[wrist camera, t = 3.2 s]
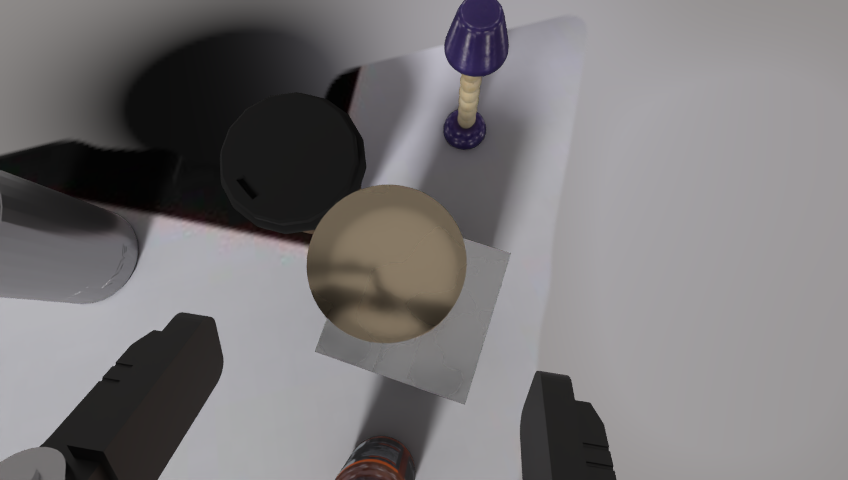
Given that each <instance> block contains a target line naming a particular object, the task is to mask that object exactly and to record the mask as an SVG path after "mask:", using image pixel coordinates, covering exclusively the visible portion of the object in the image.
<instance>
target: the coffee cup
mask: <svg viewBox="0 0 848 480" xmlns="http://www.w3.org/2000/svg"><path fill="white" fill-rule="evenodd" d="M220 170H221V184H222V186H223V188H224V190H225V192H226V194H227V196H228V198H229V200H230V202H231V204H232V206H233V208H235V209H236V210H237V211H238V212H240V213H241V214H242V215H243V216H245V217H246V218H247V219H248V220H250V221H251V222H252V223H253V224H255V225H256V226H258V227H261V228H265V229H269V230H273V231H276V232H280V233H284V234H288V233H296V232H306V233H311V234H314V232H315V230H316V227H317V226H318V224H319V223H320V221H321V219H322V218H323V217H324V216H325V214H326V213H327V212H328V211H329V210H330V209H331V208H332V207H333V206H334V205H335V204H336V203H338V202H339V201H340V200H342V199H343V198H344V197H346V196H348V195H350V194H352V193H354V192H356V191H358V190H361V183H362V179H363V176H364V173H365V170H366V160H365V151H364V142H363V139H362V137H361V135H360V133H359V132H358V130H357V128H356V126H355V125H354V123H353V121H352V120H351V118H350V116H349V115H348V114H347V113H345V112H344V111H343V110H341V109H340V108H338V107H337V106H336V105H334V104H333V103H332V102H330V101H329V100H327V99H324V98H319V97H315V96H311V95H307V94H302V93H289V94H281V95H275V96H270V97H268V98H266V99H264V100H262V101H260V102H258V103H256V104H254V105H253V106H251V107H249V108H247V109H246V110H245V112H243V113H242V115H241V116H240V117H239V118H238V119H237V120H236V121H235V122H234V123H233V125H232V126H231V127H230V128H229V130H228V133H227V136H226V138H225V141H224V144H223V146H222V149H221V152H220Z"/></svg>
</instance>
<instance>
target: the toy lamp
mask: <svg viewBox="0 0 848 480" xmlns="http://www.w3.org/2000/svg"><path fill="white" fill-rule="evenodd" d="M444 47H445V48H444V49H445V55H446V58H447V60H448V62H449V64H450V65H451V66H452V67H453V68H454V69H455V70H456V71H458V72H460V73H461V74H462V76H461V79H460V84H461V86H460V89H459V95H460V96H459V107H458V109H457V110H455V111H454V112H452V113H451V114H450V115H449V116H448V118H447V119H446V121H445V124H444V136H445V138H446V140H447V141H448V142H449V144H450V145H452V146H453V147H456V148H458V149H471V148H474V147H476V146H477V145H479V144H480V142H481V141H482V140H483V139H484V136H485V133H486V125H485V122H484V119H483V118H482V116H481V115H480V114H479V113H478V112H477V105H478V102H479V97H478V96H479V93H480V85H481V81H482V78H481V77H482V76H486V75H489V74H491V73H493V72H495V71H496V70H498V69H499V68H500V67H501V66H502V65H503V63H504V61H505V60H506V58H507V55H508V47H509V44H508V35H507V28H506V22H505V16H504V12H503V9H502V6H501V5H500V3H499V2H498V1H497V0H464V1H463V3H462V4H461V5H460V7H459V8H458V10H457V13H456V15H455V17H454V19H453V22H452V24H451V27H450V29H449V31H448V33H447V36H446V40H445V45H444Z"/></svg>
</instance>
